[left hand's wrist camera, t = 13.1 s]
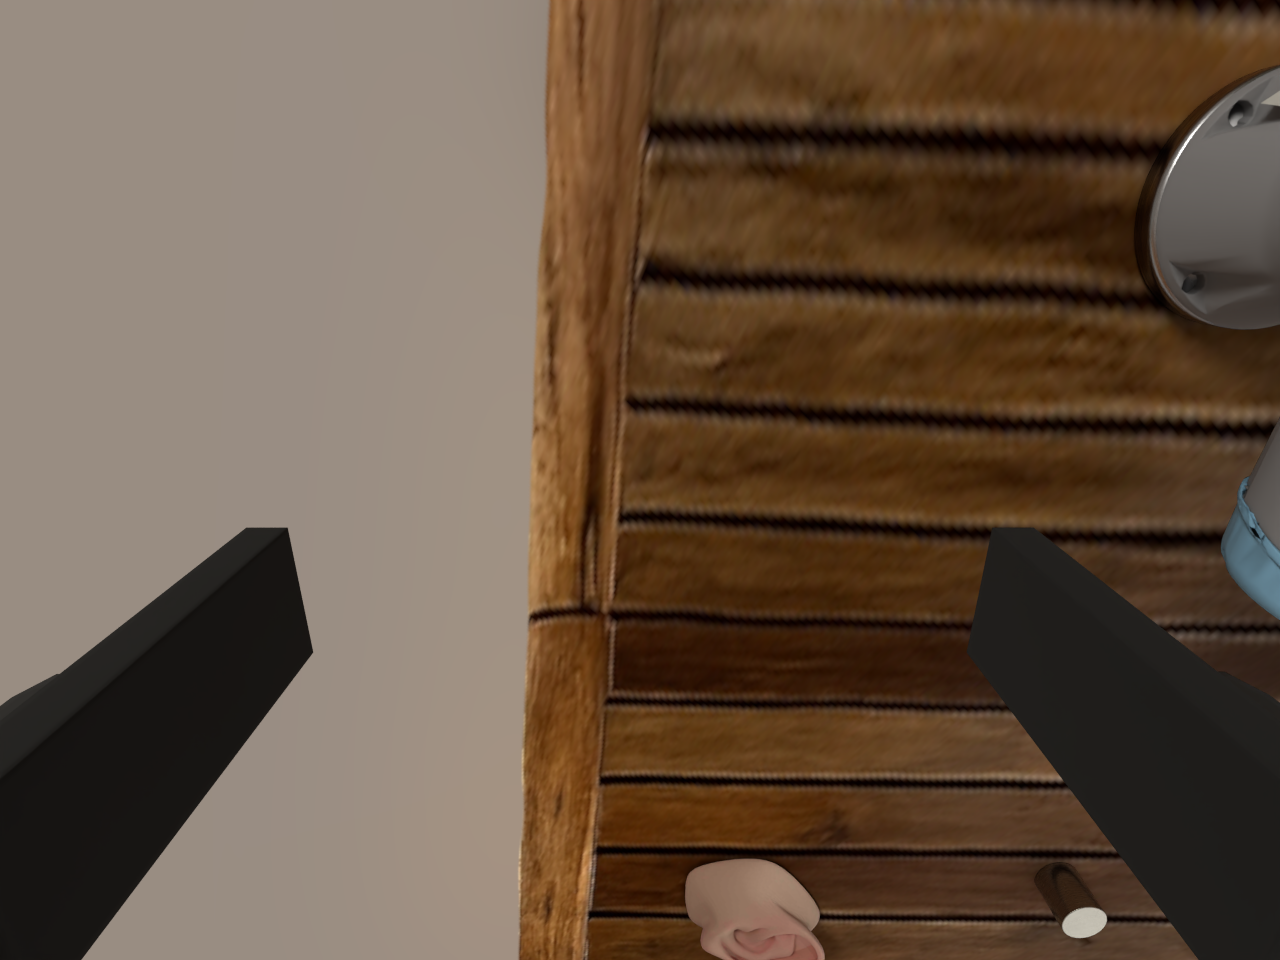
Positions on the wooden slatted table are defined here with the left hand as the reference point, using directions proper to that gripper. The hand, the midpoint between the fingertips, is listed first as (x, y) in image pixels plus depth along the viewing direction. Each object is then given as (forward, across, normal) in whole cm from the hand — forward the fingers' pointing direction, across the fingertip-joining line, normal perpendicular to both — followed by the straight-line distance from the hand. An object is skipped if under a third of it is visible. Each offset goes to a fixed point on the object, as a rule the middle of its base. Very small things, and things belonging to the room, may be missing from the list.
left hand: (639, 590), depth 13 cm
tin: (+35, +39, -52) cm, 74 cm away
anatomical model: (+35, +10, -55) cm, 66 cm away
